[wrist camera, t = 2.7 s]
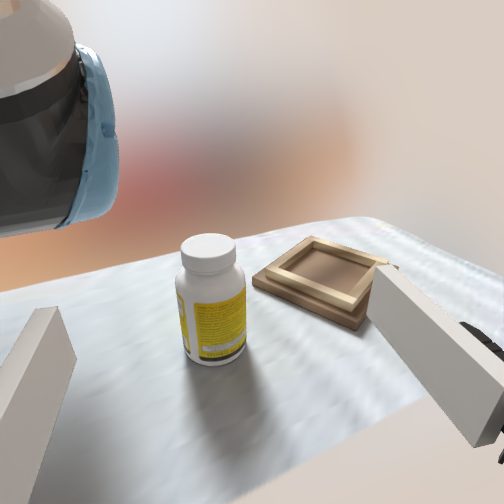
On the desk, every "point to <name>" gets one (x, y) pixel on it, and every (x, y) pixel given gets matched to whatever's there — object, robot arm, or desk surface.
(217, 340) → the supplement bottle
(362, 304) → the walnut board
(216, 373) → the desk surface
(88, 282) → the desk surface
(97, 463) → the desk surface
